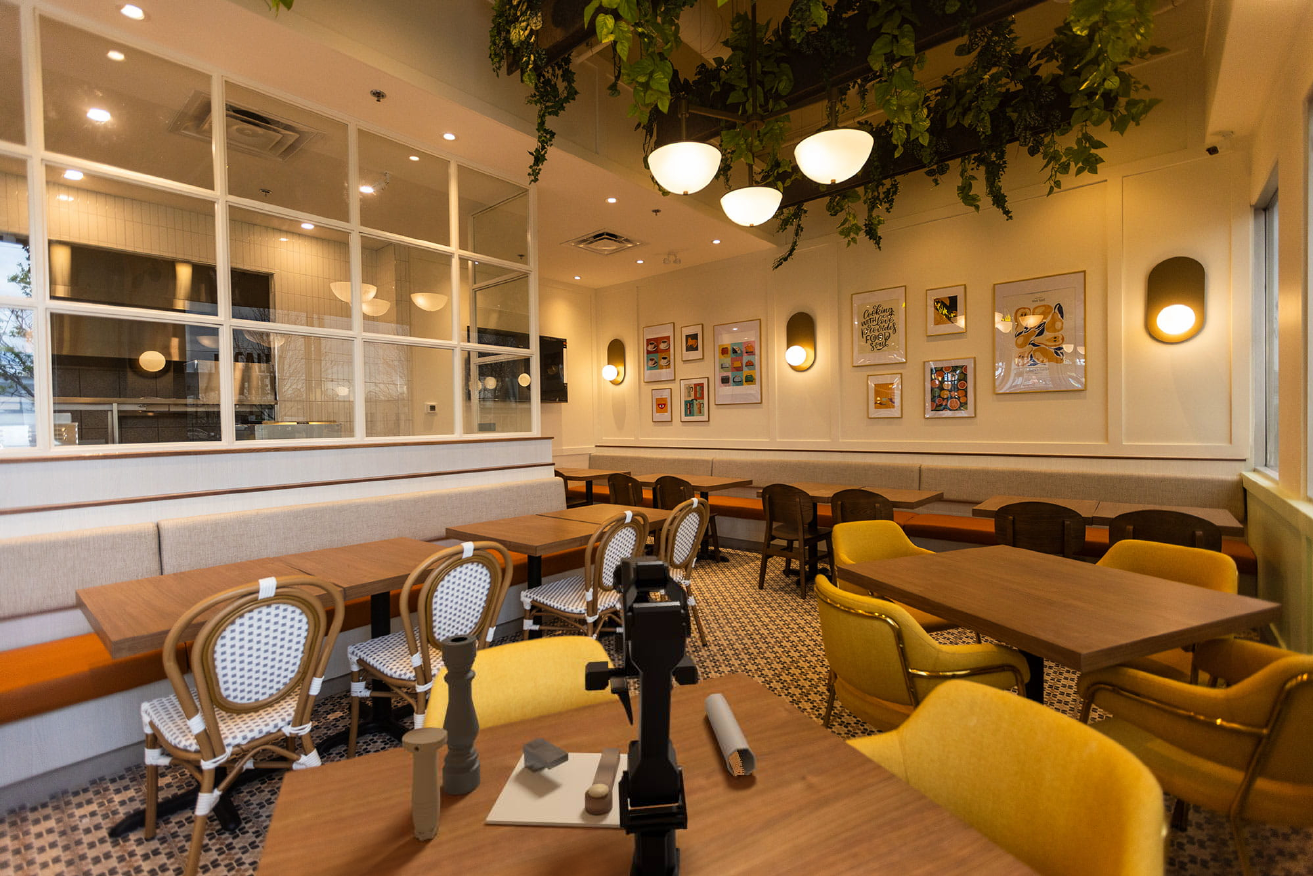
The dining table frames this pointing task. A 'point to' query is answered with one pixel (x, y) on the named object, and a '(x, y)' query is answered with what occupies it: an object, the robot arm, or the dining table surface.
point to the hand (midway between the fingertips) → (641, 723)
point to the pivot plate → (557, 794)
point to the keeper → (542, 755)
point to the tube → (729, 733)
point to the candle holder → (460, 716)
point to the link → (604, 782)
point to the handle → (425, 778)
